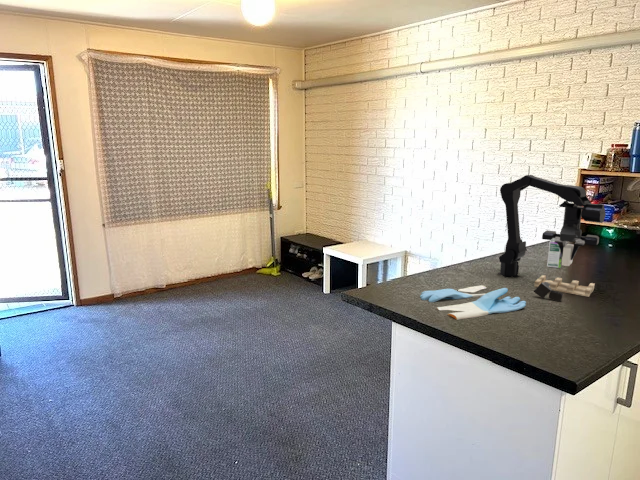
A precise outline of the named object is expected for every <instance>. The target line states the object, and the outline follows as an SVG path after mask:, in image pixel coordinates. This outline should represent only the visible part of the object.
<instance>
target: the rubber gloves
mask: <svg viewBox="0 0 640 480" xmlns="http://www.w3.org/2000/svg"><path fill="white" fill-rule="evenodd" d="M483 289H484V290H485V289H487V287H486V286H485V285H483V284H482V285H481V284H480V285H475V286H469V287H464V288H460V289H453V288H443V289H442V288H441V289H436V290H424V291H422V292H421V295H419V298H420V300H421V301H427V300H428V302H429V303H436V302H437V301H440V300H461V299H470V298H477V299H476V300H474V301H469V302H464V303H460V304H452V305H445V306H437V307H436V310H439V311H455V312H449V313H447V314H446V315H447V316H448V317H452V318H454V319H455V320H456V321H457V320H458V321H459V320H466V319H472V318H478V317H482V316H484V317H485V316H487V315H491V314H500V313H501V314H502V313H508V312H509V313H510V312H515V311H518V310H521V309H524V308H525V307H526V306H527V301H526V300H521V298H520V297H519V296H514V297H511V296H505V297H503V298H502V299H501V298H500V297H502V296H503V295H506V294H507V293H508V291H509V289H508V287H502V288H499V289H495V290H492V291H489V292H487V293H485V292H484V293H476V292H478V291H481V290H483ZM457 290H458V291H457ZM478 297H479V298H478ZM499 298H500V299H499ZM456 311H457V312H456Z"/></svg>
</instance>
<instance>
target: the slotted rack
mask: <svg viewBox="0 0 640 480" xmlns="http://www.w3.org/2000/svg"><path fill="white" fill-rule="evenodd" d="M542 282H543V283H544V282H548V283H549V284H550V286H549V288H551V290H553V291H556V292H559V293H567V294H573V295H577V296H582V297H589V298H590V296H591V295H592V293H593V292H594V290H595V284H596V283H593V282H590V283H589V284H588V286H586V285H579V284H580V281H579V280H574V279H572V281H571V282H570V283H568V282H563V278H562V277H555V279H554V280H550V279H547V275H545V274H544V275H542V274H541V275H540V277H538V278H537V279H536V280H535V281H534V285H533V288H537V287H538V286H539V285H540V284H541V283H542Z"/></svg>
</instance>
